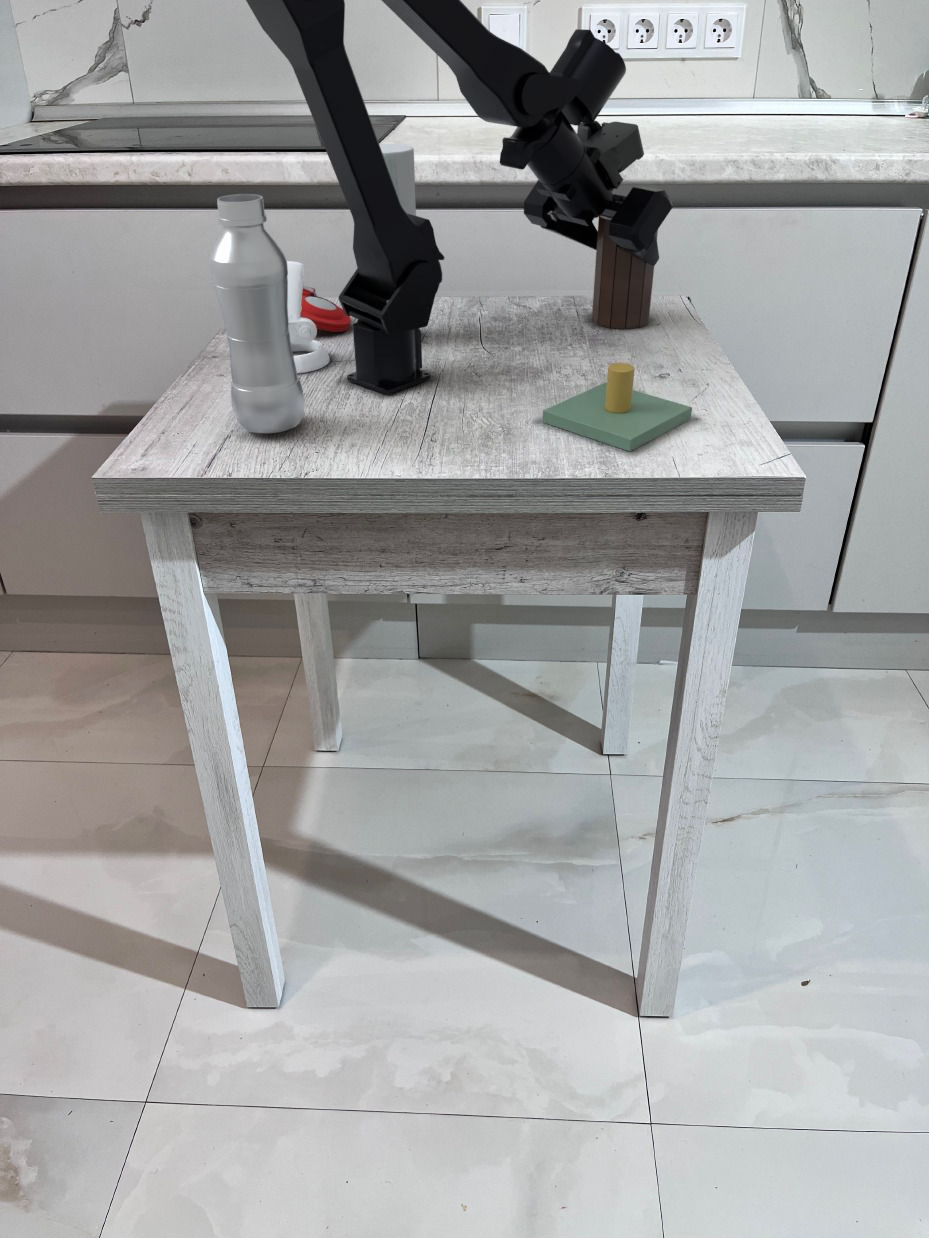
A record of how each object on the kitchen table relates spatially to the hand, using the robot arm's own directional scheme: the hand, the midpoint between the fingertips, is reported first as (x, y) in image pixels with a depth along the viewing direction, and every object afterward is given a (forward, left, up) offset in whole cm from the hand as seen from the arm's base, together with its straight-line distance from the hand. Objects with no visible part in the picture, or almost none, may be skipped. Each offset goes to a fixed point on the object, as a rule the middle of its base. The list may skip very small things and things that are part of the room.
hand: (627, 254), depth 110 cm
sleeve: (0, 0, -8) cm, 8 cm away
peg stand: (-26, -18, -8) cm, 33 cm away
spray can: (-23, +16, -8) cm, 29 cm away
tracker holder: (-26, +27, -8) cm, 38 cm away
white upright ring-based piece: (-36, +18, -8) cm, 41 cm away
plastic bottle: (-49, +5, -8) cm, 50 cm away
